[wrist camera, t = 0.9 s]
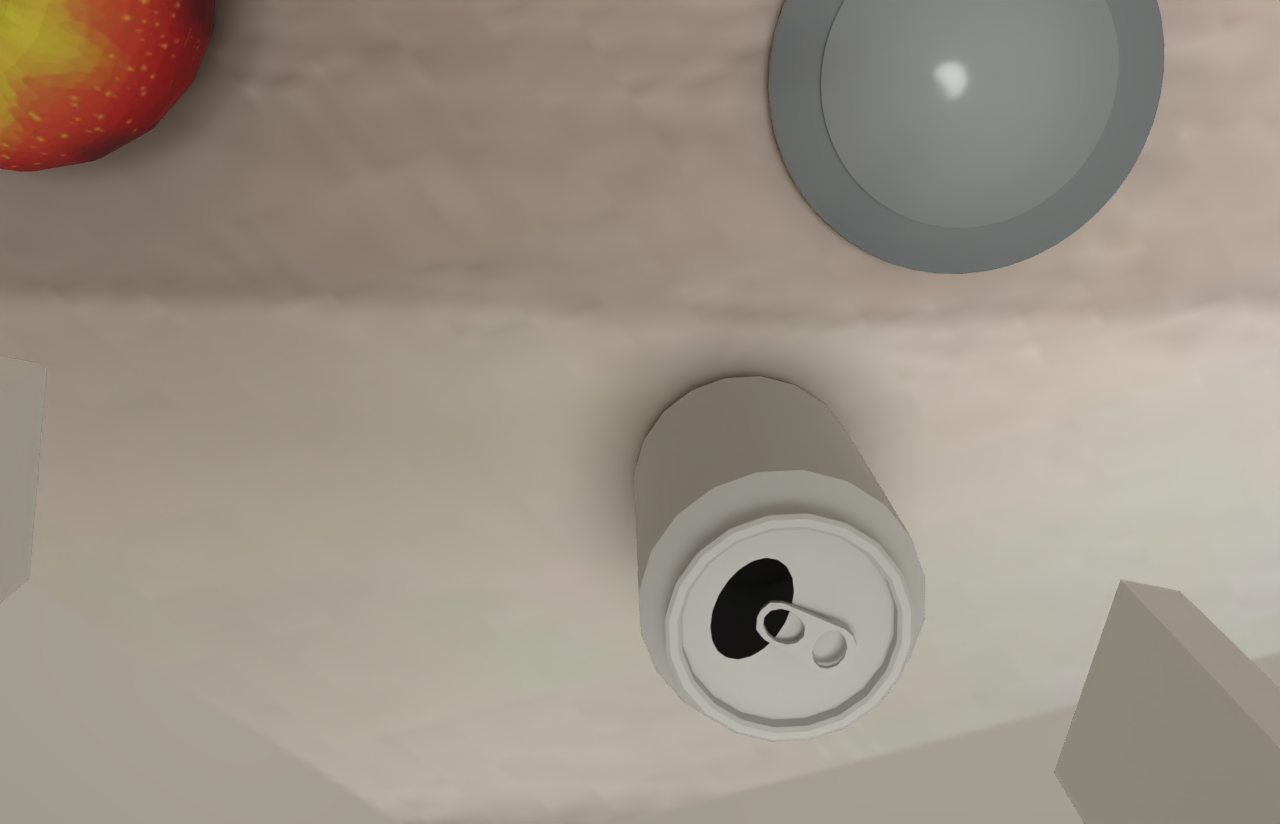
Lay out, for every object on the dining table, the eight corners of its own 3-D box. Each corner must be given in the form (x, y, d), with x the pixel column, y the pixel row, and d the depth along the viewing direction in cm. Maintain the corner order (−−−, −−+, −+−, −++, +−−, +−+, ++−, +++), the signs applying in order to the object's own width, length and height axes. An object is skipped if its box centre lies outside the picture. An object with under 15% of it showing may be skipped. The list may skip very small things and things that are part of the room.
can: (689, 333, 40) (719, 444, 29) (891, 422, 41) (998, 564, 30) (597, 528, 42) (590, 705, 31) (793, 608, 43) (857, 810, 32)
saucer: (727, 225, 39) (730, 229, 38) (824, -175, 36) (830, -182, 35) (1082, 304, 40) (1095, 311, 39) (1207, -79, 37) (1225, -83, 36)
